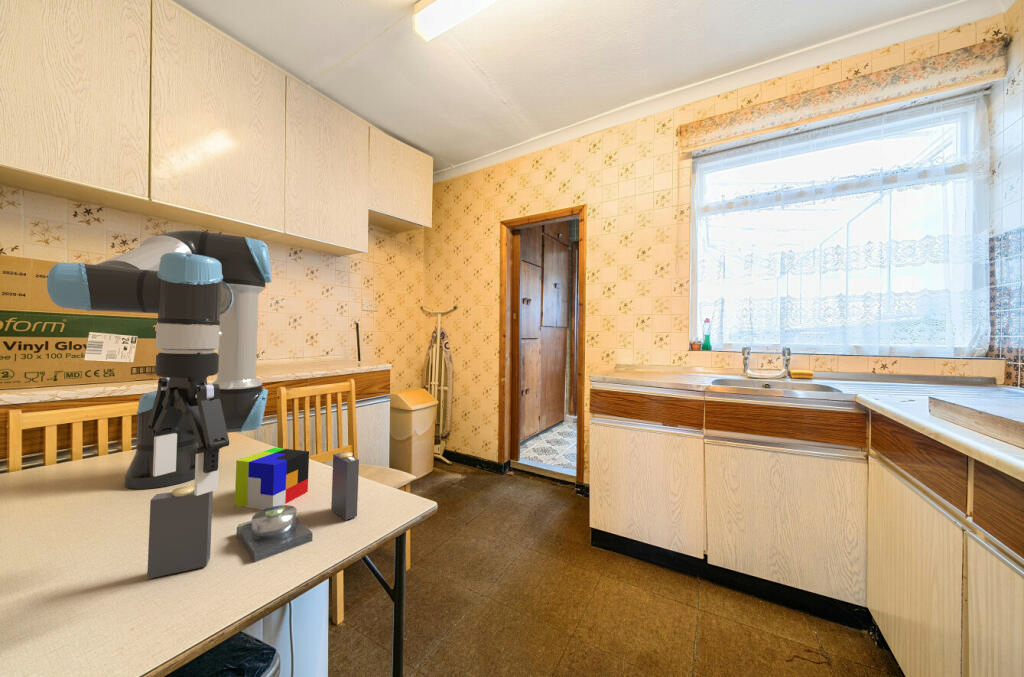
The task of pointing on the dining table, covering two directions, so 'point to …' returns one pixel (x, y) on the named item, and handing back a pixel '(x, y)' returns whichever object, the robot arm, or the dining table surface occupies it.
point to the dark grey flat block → (179, 531)
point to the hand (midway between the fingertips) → (184, 482)
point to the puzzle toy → (271, 478)
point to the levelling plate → (275, 543)
